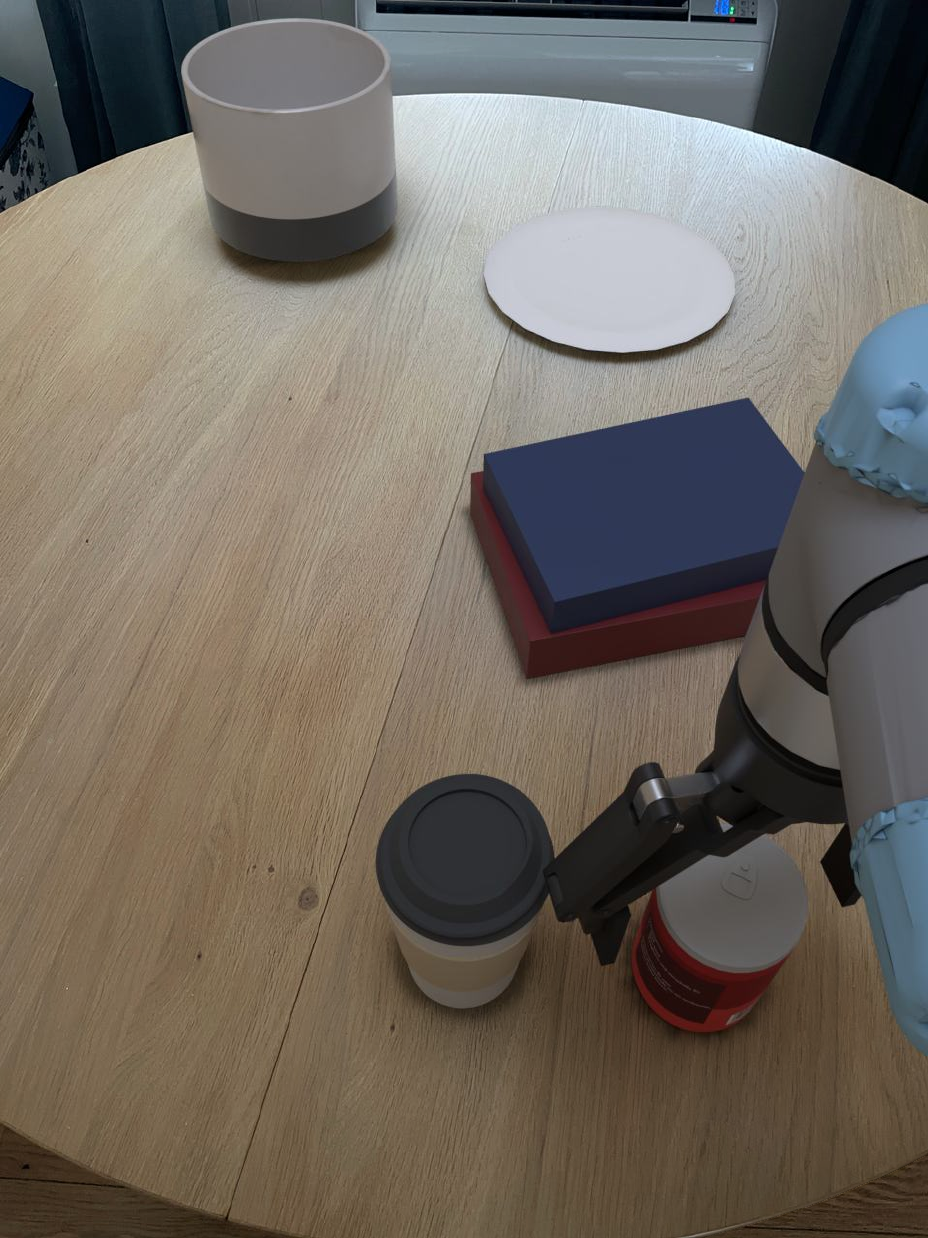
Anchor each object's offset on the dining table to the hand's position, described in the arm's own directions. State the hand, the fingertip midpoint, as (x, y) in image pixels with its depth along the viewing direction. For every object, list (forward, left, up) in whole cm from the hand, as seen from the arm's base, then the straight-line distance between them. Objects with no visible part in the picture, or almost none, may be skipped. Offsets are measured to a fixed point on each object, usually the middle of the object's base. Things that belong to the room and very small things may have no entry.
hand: (720, 911), depth 56 cm
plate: (+67, -17, -8) cm, 69 cm away
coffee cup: (+4, +13, -8) cm, 16 cm away
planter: (+83, +11, -8) cm, 84 cm away
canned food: (0, 0, -8) cm, 8 cm away
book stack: (+31, -8, -8) cm, 33 cm away
